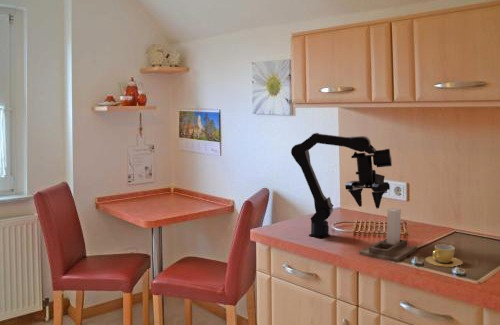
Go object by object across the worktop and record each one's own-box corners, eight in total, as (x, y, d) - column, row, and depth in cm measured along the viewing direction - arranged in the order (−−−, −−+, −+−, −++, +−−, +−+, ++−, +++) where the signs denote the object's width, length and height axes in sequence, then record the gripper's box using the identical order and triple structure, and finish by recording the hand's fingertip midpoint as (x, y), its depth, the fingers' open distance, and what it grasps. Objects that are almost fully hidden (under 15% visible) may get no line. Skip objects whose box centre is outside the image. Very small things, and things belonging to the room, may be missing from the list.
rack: (359, 254, 183) (359, 245, 183) (381, 243, 197) (381, 235, 197) (396, 262, 174) (396, 253, 174) (416, 250, 188) (417, 241, 188)
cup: (443, 255, 183) (444, 240, 182) (470, 264, 172) (471, 249, 171) (417, 259, 178) (418, 244, 177) (444, 270, 167) (444, 254, 166)
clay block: (386, 247, 188) (387, 210, 186) (392, 244, 191) (393, 207, 190) (394, 248, 186) (395, 211, 184) (399, 245, 190) (400, 208, 188)
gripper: (397, 165, 196) (401, 205, 198) (362, 165, 212) (366, 202, 213) (377, 170, 190) (381, 211, 192) (342, 169, 206) (346, 207, 207)
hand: (368, 207), depth 201 cm, fingers open, 9 cm apart
